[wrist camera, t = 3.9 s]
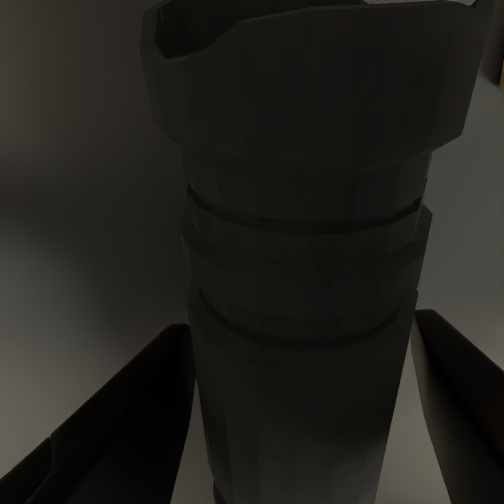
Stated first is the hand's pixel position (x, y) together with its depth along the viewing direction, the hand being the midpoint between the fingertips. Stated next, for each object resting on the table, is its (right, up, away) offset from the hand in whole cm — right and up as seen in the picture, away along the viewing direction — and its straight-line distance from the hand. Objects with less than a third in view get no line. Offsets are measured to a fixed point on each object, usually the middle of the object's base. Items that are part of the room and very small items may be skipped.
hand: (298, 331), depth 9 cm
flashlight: (0, -2, +4) cm, 4 cm away
